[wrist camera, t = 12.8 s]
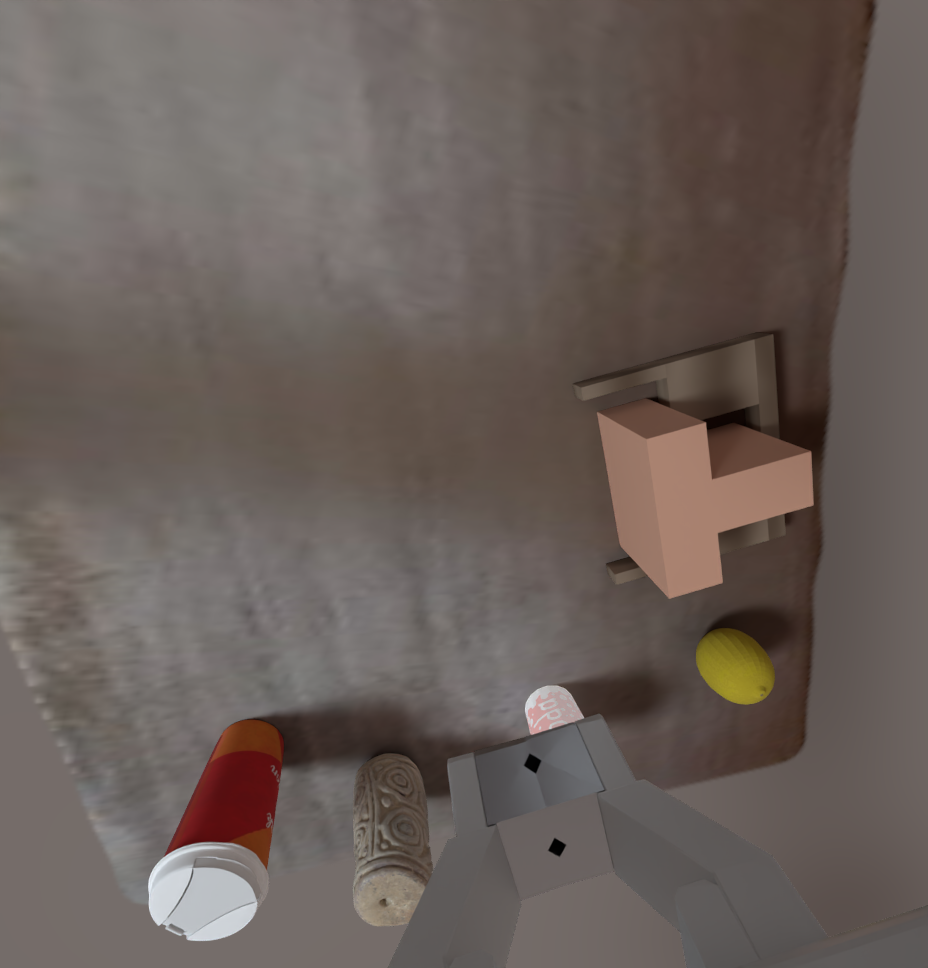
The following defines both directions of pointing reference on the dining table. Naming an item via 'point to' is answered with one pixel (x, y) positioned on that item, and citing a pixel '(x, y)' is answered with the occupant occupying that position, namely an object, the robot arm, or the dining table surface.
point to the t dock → (707, 410)
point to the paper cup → (222, 838)
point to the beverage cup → (551, 709)
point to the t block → (693, 488)
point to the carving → (390, 840)
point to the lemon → (735, 666)
